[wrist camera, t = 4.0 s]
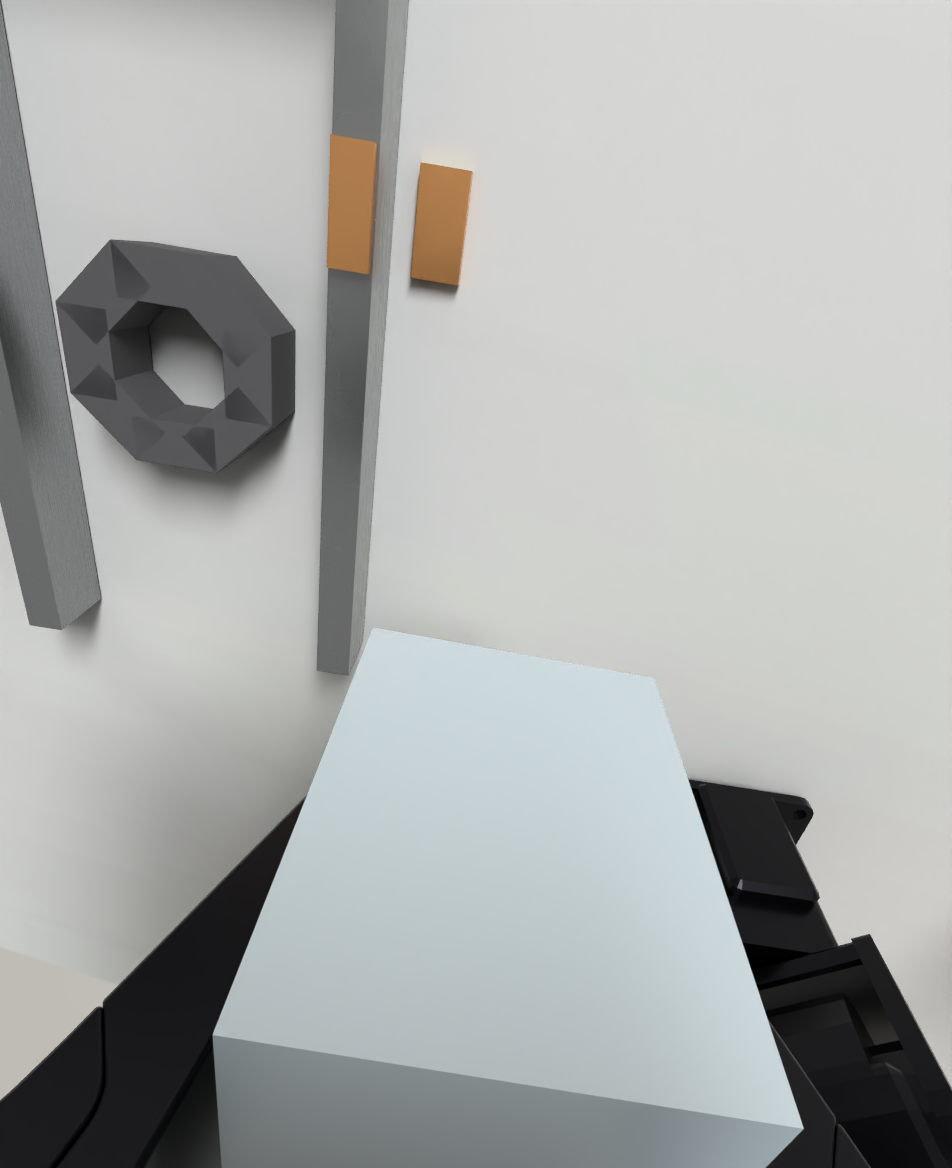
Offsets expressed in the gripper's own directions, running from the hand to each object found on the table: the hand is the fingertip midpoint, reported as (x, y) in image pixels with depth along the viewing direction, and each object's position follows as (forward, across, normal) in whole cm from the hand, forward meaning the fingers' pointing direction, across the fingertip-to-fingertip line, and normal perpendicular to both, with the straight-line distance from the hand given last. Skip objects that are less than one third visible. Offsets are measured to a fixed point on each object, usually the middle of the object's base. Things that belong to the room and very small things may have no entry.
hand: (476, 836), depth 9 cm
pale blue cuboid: (+1, 0, 0) cm, 1 cm away
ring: (+11, +9, -4) cm, 15 cm away
